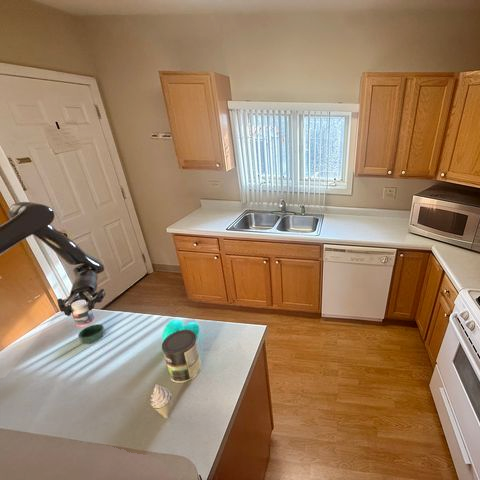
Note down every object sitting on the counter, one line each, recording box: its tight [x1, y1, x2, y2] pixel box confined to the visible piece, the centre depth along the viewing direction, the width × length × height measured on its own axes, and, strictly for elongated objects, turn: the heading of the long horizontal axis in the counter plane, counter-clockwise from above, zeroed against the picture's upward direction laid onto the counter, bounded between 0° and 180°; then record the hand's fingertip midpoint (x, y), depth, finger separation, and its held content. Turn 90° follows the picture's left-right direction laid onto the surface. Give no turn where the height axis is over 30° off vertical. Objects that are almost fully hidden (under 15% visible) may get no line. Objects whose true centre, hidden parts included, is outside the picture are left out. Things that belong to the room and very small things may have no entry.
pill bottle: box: [71, 300, 95, 327], centre depth 94 cm, size 5×5×9 cm
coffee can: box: [161, 330, 202, 384], centre depth 88 cm, size 10×10×14 cm
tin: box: [77, 324, 106, 345], centre depth 102 cm, size 8×8×3 cm
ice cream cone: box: [149, 383, 173, 419], centre depth 73 cm, size 5×5×15 cm
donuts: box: [161, 318, 200, 342], centre depth 100 cm, size 10×10×10 cm
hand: (79, 311), depth 91 cm, fingers closed on pill bottle, 5 cm apart
